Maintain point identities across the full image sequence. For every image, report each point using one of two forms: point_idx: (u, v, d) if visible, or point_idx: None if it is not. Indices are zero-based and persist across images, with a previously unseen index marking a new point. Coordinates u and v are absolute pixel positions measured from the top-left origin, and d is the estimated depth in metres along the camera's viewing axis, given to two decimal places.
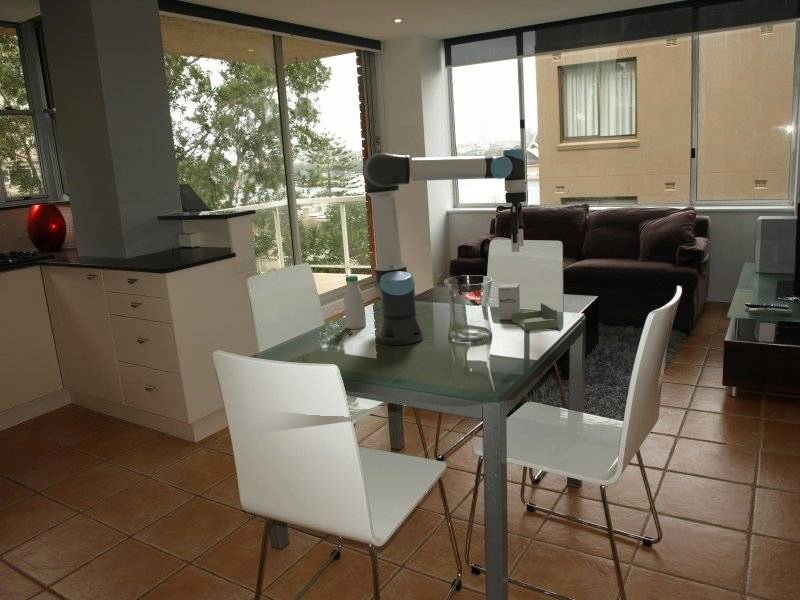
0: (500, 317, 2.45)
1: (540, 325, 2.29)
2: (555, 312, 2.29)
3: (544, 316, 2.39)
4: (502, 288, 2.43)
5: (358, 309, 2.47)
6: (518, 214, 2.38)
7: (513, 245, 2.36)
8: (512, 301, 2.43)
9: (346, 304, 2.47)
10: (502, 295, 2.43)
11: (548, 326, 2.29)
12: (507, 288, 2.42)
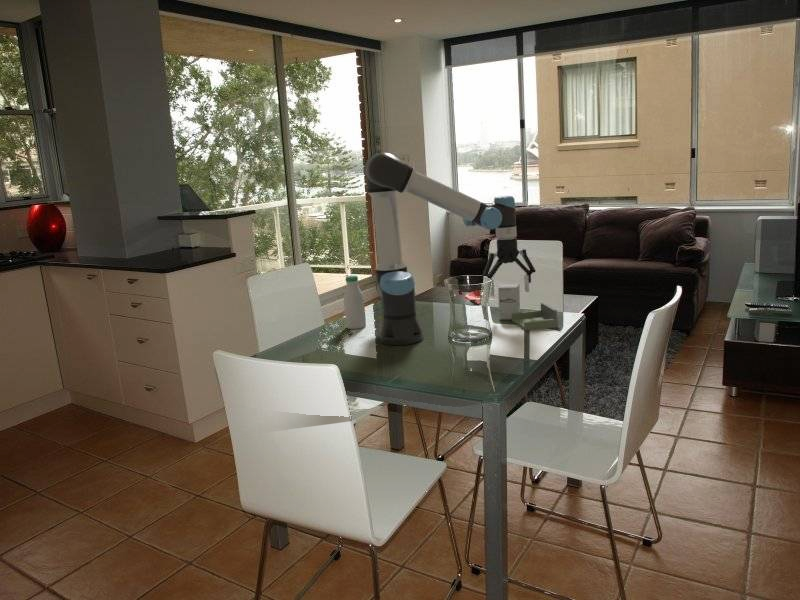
0: (500, 317, 2.45)
1: (540, 325, 2.29)
2: (555, 312, 2.29)
3: (544, 316, 2.39)
4: (502, 288, 2.43)
5: (358, 309, 2.47)
6: None
7: None
8: (512, 301, 2.43)
9: (346, 304, 2.47)
10: (502, 295, 2.43)
11: (548, 326, 2.29)
12: (507, 288, 2.42)
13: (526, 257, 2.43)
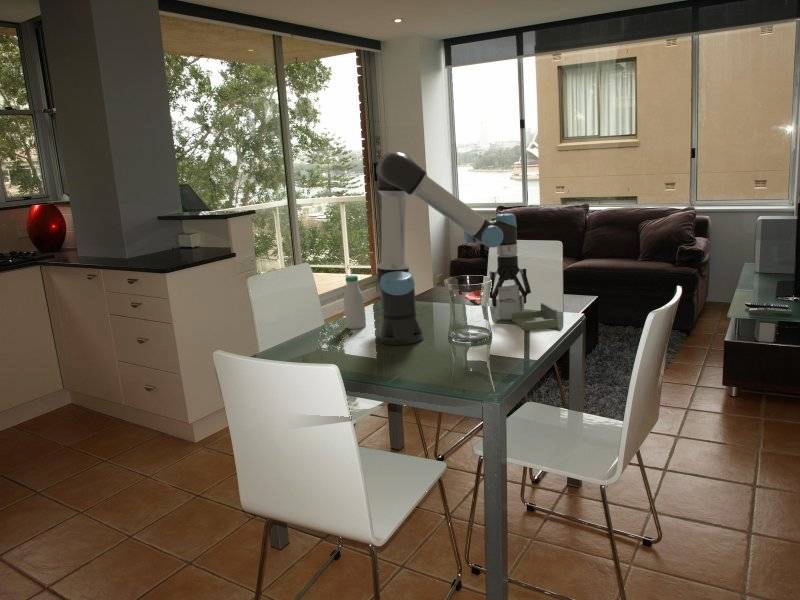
0: (500, 317, 2.45)
1: (540, 325, 2.29)
2: (555, 312, 2.29)
3: (544, 316, 2.39)
4: (502, 288, 2.43)
5: (358, 309, 2.47)
6: None
7: (495, 308, 2.47)
8: (512, 301, 2.43)
9: (346, 304, 2.47)
10: (502, 295, 2.43)
11: (548, 326, 2.29)
12: (507, 288, 2.42)
13: (525, 277, 2.44)
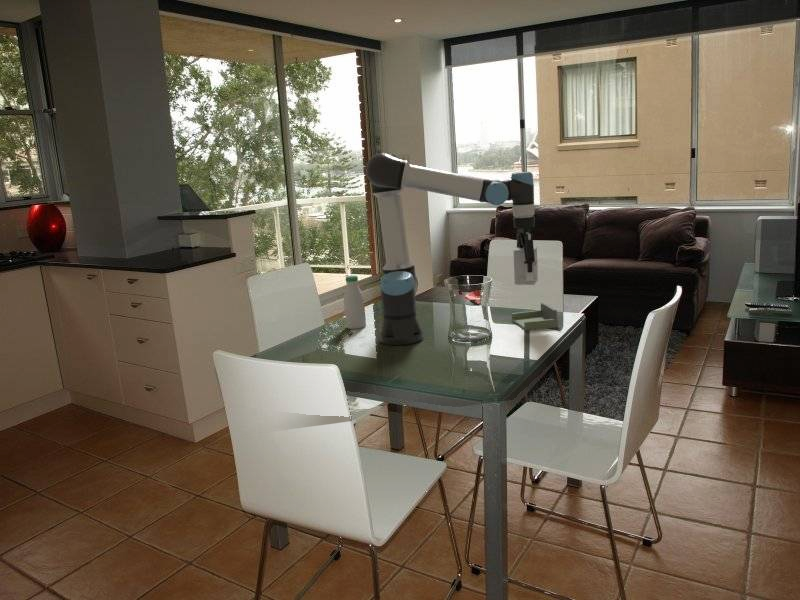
0: (534, 282, 2.31)
1: (540, 325, 2.29)
2: (555, 312, 2.29)
3: (544, 316, 2.39)
4: (534, 250, 2.29)
5: (358, 309, 2.47)
6: None
7: (527, 275, 2.29)
8: (536, 262, 2.34)
9: (346, 304, 2.47)
10: None
11: (548, 326, 2.29)
12: (535, 249, 2.31)
13: None
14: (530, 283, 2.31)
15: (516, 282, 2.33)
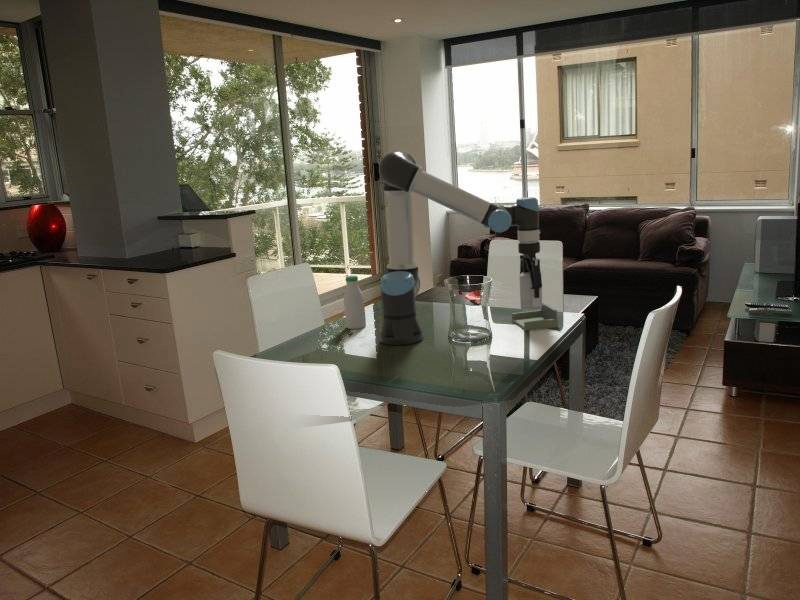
0: None
1: (540, 325, 2.29)
2: (555, 312, 2.29)
3: (544, 316, 2.39)
4: None
5: (358, 309, 2.47)
6: None
7: (534, 300, 2.29)
8: None
9: (346, 304, 2.47)
10: None
11: (548, 326, 2.29)
12: None
13: None
14: (536, 308, 2.31)
15: (522, 307, 2.32)
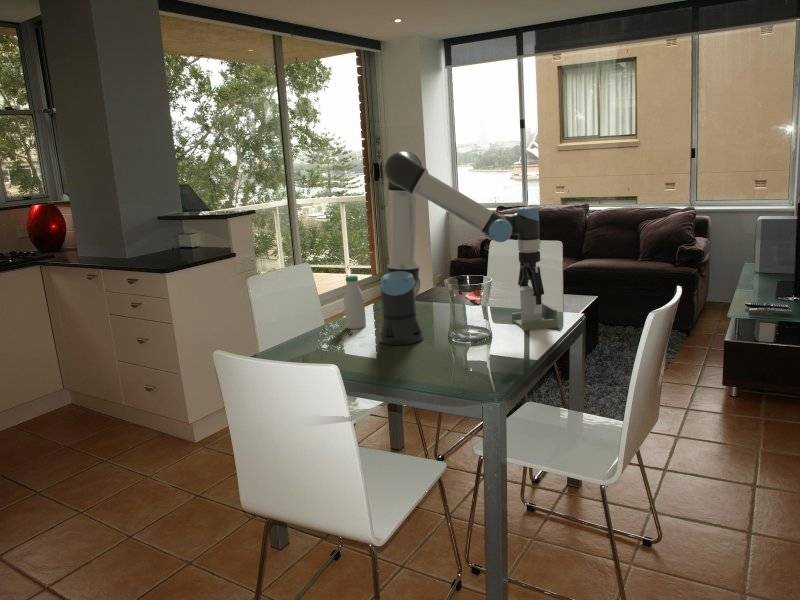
0: None
1: (540, 325, 2.29)
2: (555, 312, 2.29)
3: (544, 316, 2.39)
4: None
5: (358, 309, 2.47)
6: None
7: (536, 307, 2.27)
8: None
9: (346, 304, 2.47)
10: None
11: (548, 326, 2.29)
12: None
13: None
14: None
15: (523, 321, 2.33)
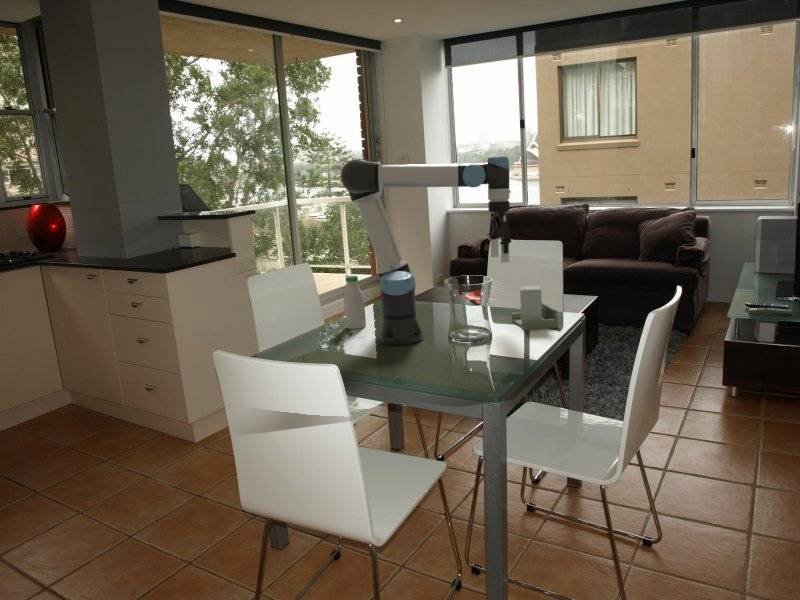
0: None
1: (540, 325, 2.29)
2: (555, 312, 2.29)
3: (544, 316, 2.39)
4: (540, 289, 2.31)
5: (358, 309, 2.47)
6: None
7: (503, 256, 2.28)
8: None
9: (346, 304, 2.47)
10: None
11: (548, 326, 2.29)
12: (540, 288, 2.33)
13: None
14: None
15: (523, 321, 2.33)
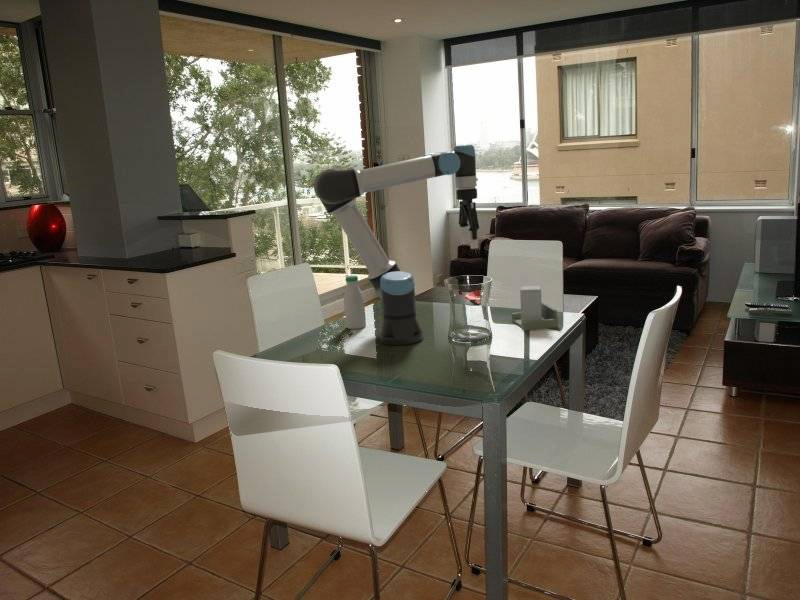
0: None
1: (540, 325, 2.29)
2: (555, 312, 2.29)
3: (544, 316, 2.39)
4: (540, 289, 2.31)
5: (358, 309, 2.47)
6: None
7: (472, 242, 2.33)
8: None
9: (346, 304, 2.47)
10: None
11: (548, 326, 2.29)
12: (540, 288, 2.33)
13: None
14: None
15: (523, 321, 2.33)
